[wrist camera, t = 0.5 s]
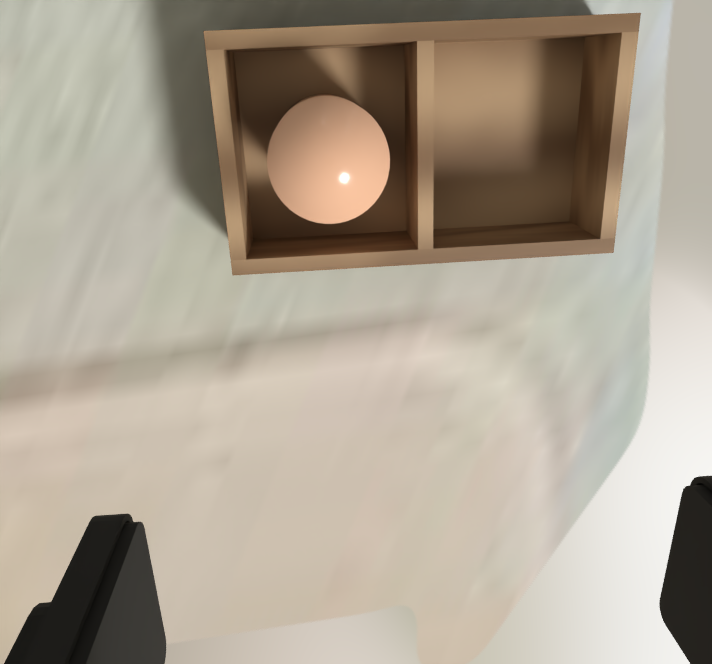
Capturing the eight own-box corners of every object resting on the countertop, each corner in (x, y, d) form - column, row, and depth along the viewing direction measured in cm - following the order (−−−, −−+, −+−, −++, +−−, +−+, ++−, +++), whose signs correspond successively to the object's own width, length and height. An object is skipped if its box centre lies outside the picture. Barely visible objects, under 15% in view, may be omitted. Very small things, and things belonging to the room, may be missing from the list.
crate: (218, 36, 34) (203, 30, 29) (596, 21, 35) (640, 12, 30) (241, 250, 38) (232, 275, 33) (577, 231, 39) (613, 252, 34)
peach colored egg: (270, 95, 34) (261, 100, 28) (373, 90, 35) (388, 94, 28) (279, 199, 36) (273, 227, 30) (376, 194, 37) (391, 220, 30)
